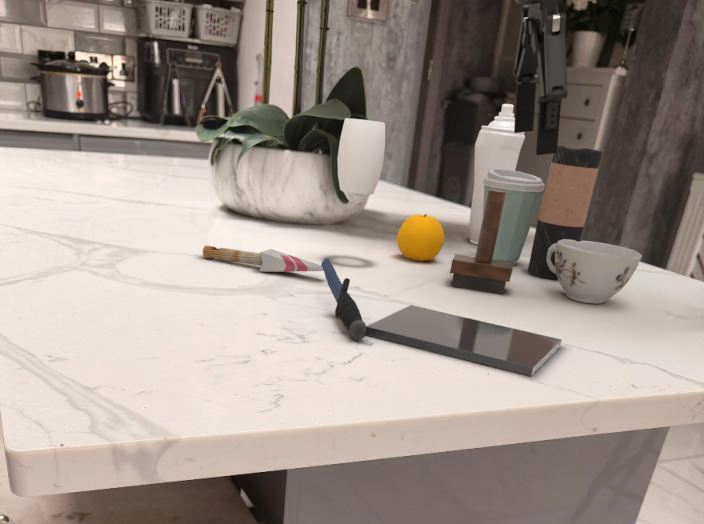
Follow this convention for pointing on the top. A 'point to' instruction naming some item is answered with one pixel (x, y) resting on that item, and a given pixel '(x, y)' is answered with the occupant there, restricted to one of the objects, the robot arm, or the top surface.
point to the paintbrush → (262, 259)
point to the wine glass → (360, 158)
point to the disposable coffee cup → (513, 209)
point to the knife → (344, 302)
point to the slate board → (466, 339)
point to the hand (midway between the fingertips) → (534, 142)
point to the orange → (420, 237)
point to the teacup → (592, 269)
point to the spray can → (493, 160)
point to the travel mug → (563, 204)
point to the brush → (484, 254)
